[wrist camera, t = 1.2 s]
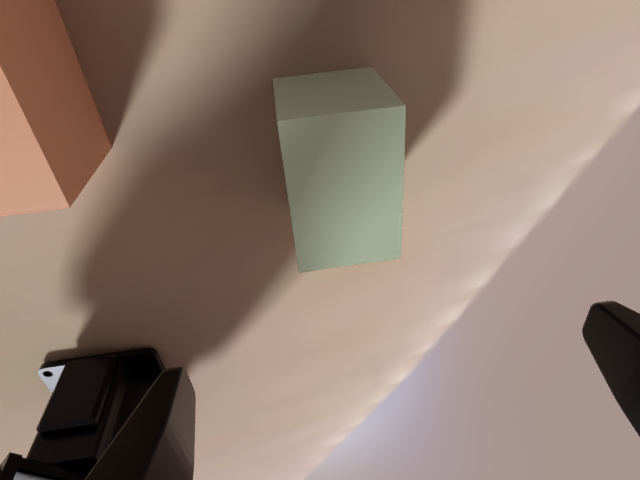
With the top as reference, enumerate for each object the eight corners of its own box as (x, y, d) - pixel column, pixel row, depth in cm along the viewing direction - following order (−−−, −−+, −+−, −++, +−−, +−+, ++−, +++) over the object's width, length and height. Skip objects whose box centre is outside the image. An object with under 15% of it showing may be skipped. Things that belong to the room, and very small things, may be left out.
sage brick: (373, 195, 21) (401, 258, 17) (290, 206, 21) (298, 272, 17) (371, 66, 17) (406, 105, 13) (272, 77, 17) (276, 120, 13)
